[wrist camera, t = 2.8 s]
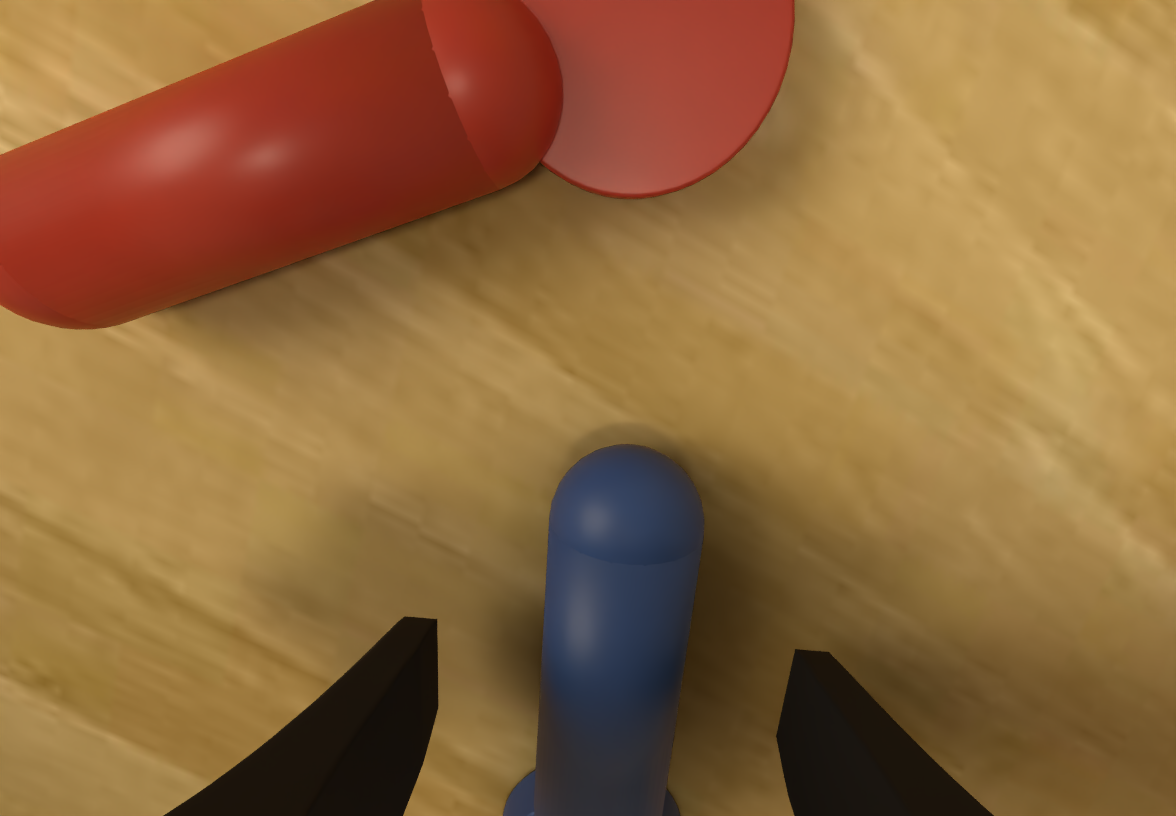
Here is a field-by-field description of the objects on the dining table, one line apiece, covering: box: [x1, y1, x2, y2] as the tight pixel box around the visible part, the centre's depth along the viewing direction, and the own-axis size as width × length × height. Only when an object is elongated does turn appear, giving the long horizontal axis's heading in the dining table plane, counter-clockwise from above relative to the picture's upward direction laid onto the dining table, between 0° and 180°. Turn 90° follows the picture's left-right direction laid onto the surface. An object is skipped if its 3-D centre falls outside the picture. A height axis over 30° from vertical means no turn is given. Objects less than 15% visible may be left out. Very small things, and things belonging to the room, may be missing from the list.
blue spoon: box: [503, 444, 704, 816], centre depth 12 cm, size 12×4×3 cm, turn 176°
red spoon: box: [0, 0, 795, 329], centre depth 8 cm, size 12×4×3 cm, turn 108°
